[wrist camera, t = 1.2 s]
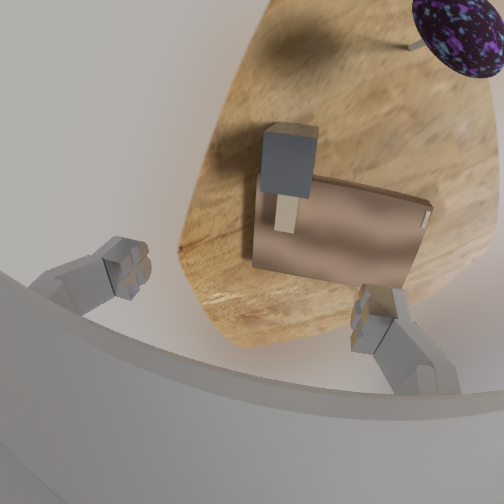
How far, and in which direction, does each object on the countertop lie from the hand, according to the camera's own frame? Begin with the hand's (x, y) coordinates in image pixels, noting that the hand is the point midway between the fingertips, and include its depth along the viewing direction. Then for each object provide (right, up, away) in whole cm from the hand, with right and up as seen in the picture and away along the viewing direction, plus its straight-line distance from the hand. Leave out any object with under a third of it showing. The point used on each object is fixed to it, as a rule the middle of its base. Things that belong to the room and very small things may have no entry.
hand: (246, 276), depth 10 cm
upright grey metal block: (+4, +9, +17) cm, 20 cm away
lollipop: (+15, +21, +7) cm, 27 cm away
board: (+10, +3, +20) cm, 23 cm away
